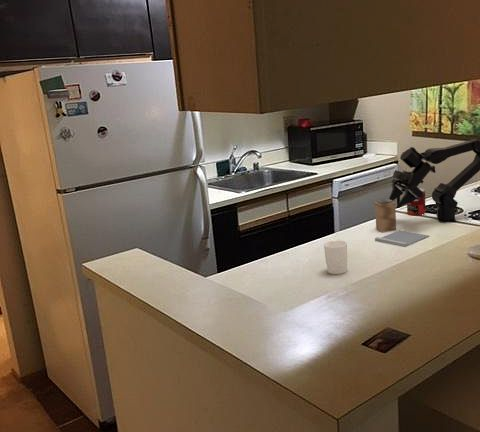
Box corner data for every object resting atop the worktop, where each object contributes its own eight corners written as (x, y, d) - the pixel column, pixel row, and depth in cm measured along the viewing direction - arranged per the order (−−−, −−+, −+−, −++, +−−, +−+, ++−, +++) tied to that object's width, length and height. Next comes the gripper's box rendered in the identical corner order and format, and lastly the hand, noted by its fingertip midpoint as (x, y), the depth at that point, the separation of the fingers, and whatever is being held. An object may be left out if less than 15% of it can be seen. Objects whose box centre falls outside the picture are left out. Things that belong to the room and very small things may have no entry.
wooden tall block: (390, 227, 235) (389, 198, 232) (396, 230, 229) (395, 201, 226) (376, 229, 234) (374, 200, 231) (381, 232, 229) (380, 203, 226)
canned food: (403, 213, 252) (402, 190, 249) (417, 210, 255) (416, 187, 253) (415, 216, 245) (414, 192, 243) (429, 213, 248) (428, 189, 246)
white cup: (343, 276, 187) (341, 248, 184) (322, 273, 191) (320, 246, 188) (352, 268, 193) (350, 240, 191) (331, 266, 197) (329, 239, 195)
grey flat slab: (399, 231, 228) (399, 228, 228) (429, 236, 217) (429, 233, 217) (375, 240, 219) (375, 238, 219) (404, 247, 208) (404, 244, 208)
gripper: (394, 159, 235) (371, 188, 236) (415, 165, 217) (389, 196, 218) (412, 175, 238) (389, 203, 239) (434, 182, 220) (408, 213, 221)
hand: (393, 204), depth 230 cm, fingers open, 9 cm apart
